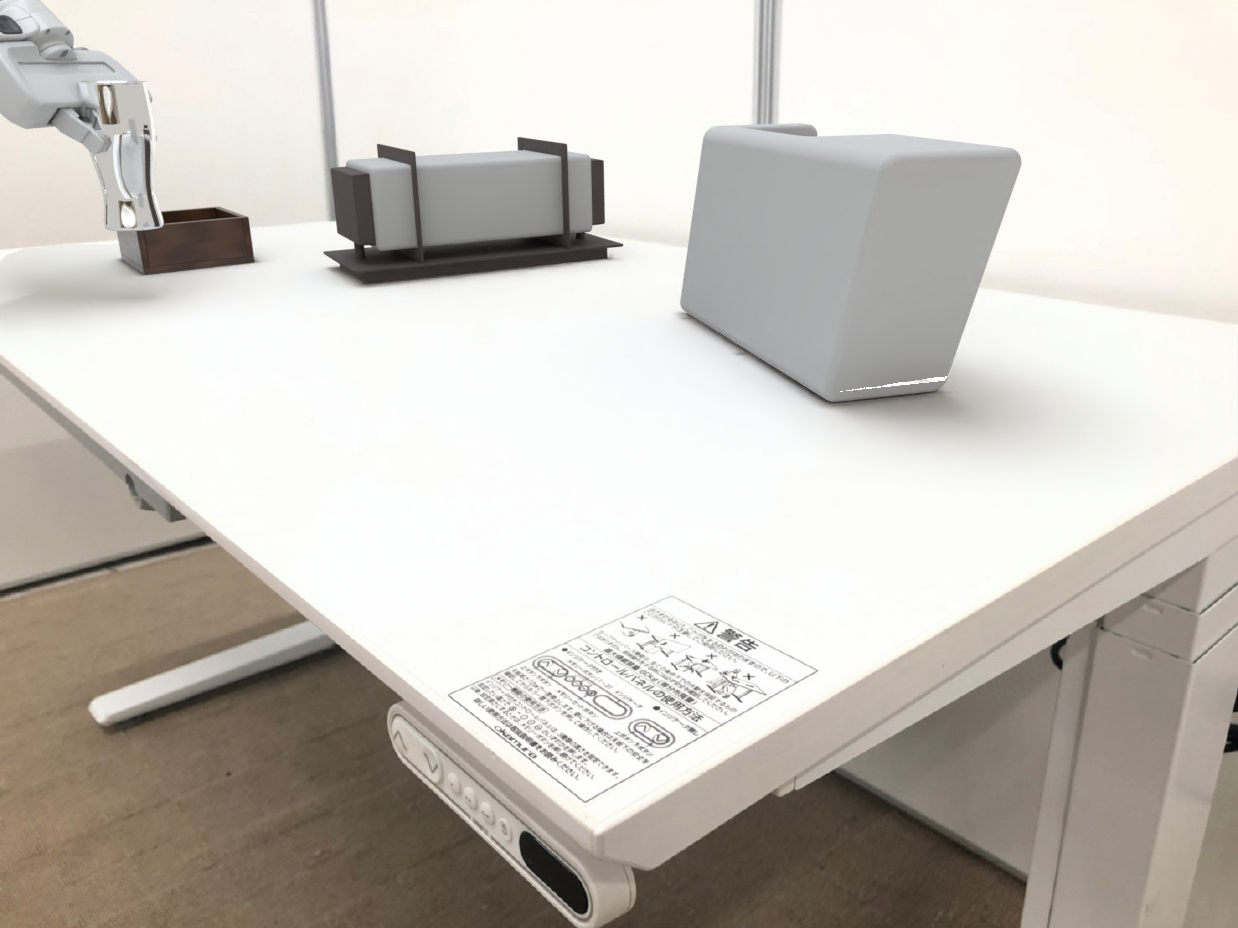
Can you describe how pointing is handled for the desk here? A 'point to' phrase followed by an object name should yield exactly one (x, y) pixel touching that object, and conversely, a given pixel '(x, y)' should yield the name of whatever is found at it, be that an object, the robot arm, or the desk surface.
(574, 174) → the light fixture
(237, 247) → the crate
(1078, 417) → the desk surface
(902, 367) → the grey tapered block
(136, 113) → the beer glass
